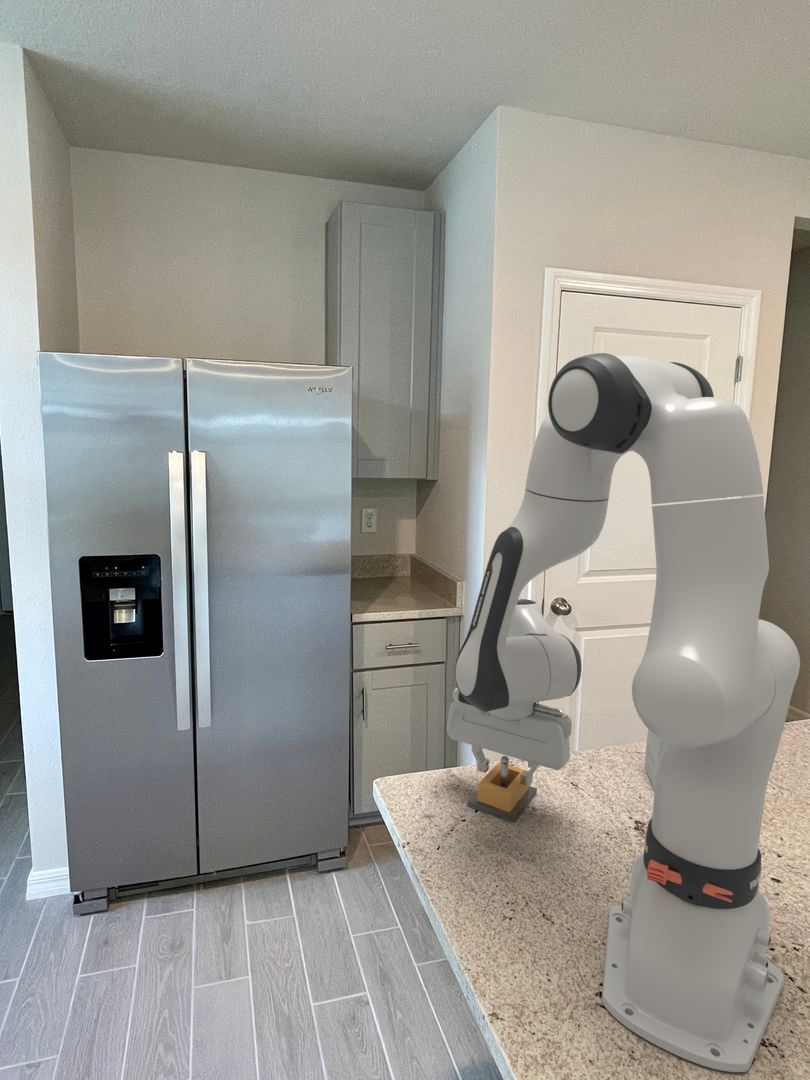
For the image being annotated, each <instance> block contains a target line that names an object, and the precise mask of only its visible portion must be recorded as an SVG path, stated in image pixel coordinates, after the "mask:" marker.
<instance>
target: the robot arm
mask: <svg viewBox="0 0 810 1080" xmlns="http://www.w3.org/2000/svg"><path fill="white" fill-rule="evenodd" d="M547 399H548V400H547V407H548V408H547V409H548V416H547V417H545V419H543V421H542V423H541V424H540V427H539V429H538V433H537V436H536V439H535V441H534V445H533V449H532V453H531V456H530V460H529V465H528V466H529V467H528V470H527V477H526V481H525V490H524V495H523V499H522V502H521V505H520V507H519V509H518V511H517V514H516V516H515V517H514V519H513V520H512V522H511V523H510V525H509V526H508V528H506V529H504V530H503V531H502V532H500V534H499V535H498V536H497V538H496V539H495V542H494V543H493V547H492V549H491V551H490V555H489V558H488V561H487V565H486V567H485V572H484V575H483V578H482V582H481V585H480V589H479V593H478V597H477V600H476V604H475V607H474V610H473V615H472V618H471V621H470V625H469V629H468V632H467V634H466V637H465V639H464V641H463V643H462V645H461V647H460V649H459V651H458V654H457V657H456V661H455V667H454V679H455V680H454V681H455V683H456V684H455V685H456V688H455V689H454V690H453V691H452V699H453V700H454V702H452V703H451V704H450V706H449V708H448V714H447V723H446V732H447V734H448V736H449V738H450V739H452V740H453V741H454V740H455V741H458V742H461V743H464V744H467V745H471V752H472V755H473V756H474V759H475V760H476V771H478V772H482V773H485V774H487V772H488V771H489V769H490V761H491V760H490V758H486V755H485V754H484V751H483V749H484V750H488V751H491V752H495V753H497V754H501V755H503V756H507V757H512V758H514V759H518V760H522V761H525V762H527V767H528V769H529V768H530V769H529V770H527V771H525V770H526V769H524V771H523V773H522V774H521V776H520V779H521V781H520V784H522V785H525V786H528V787H529V786H531V785H532V784H533V780H534V779H533V778H534V777H533V776H534V773H535V772H536V771H537V769H538V768H539V767H540V766H541V767H544V768H548V769H550V770H551V769H552V770H555V771H560V770H561V769H563V768H564V767H565V766H566V765H567V763H568V762H569V759H570V757H571V756H570V755H571V754H570V753H571V752H570V751H571V750H570V749H571V747H570V737H571V735H572V727H573V723H572V720H571V718H570V716H569V715H568V714H566V713H565V712H564V710H562V709H561V708H557V707H550V706H548V705H544V704H540V702H545V701H553V700H558V699H564V698H566V697H570V696H571V695H572V694H573V693H574V692H576V690H577V688H578V686H579V684H580V681H581V678H582V677H581V676H582V657H581V653H580V652H579V649H578V648H577V647H576V645H575V644H574V643H573V642H572V640H570V638H568V637H567V636H565V635H563V634H561V633H559V632H557V631H556V630H555V629H554V628H553V627H552V626H551V625H550V624H549V623H548V622H547V621H546V620H545V618H544V617H543V614H542V613H543V612H542V610H541V607H540V605H539V604H538V603H537V602H536V601H534V600H531V599H523V598H520V595H521V593H522V591H523V590H524V589H525V587H526V586H527V585H528V584H529V582H531V581H532V580H533V579H534V578H536V577H537V576H539V575H540V574H542V573H543V572H545V571H547V570H549V569H550V568H553V567H556V566H557V565H559V564H562V563H565V562H566V561H569V560H572V559H574V558H576V557H578V556H581V554H583V553H584V552H585V551H587V550H588V549H590V548H591V546H592V545H594V544H595V543H596V542H597V540H598V539H599V537H600V535H601V533H602V530H603V527H604V524H605V521H606V517H607V513H608V512H607V511H608V505H609V498H610V493H611V485H612V478H613V473H614V469H615V467H616V464H617V462H618V461H619V460H620V459H621V458H622V457H623V456H624V455H626V454H627V453H629V452H634V453H635V454H637V455H639V456H640V457H641V458H642V459H643V461H644V463H645V464H646V468H647V470H648V474H649V480H650V481H649V483H650V496H651V505H652V506H651V510H652V511H651V512H652V522H653V525H652V526H653V535H654V536H653V537H654V549H655V550H654V551H655V565H656V566H655V567H656V571H655V572H656V574H655V591H654V596H653V597H654V598H653V604H652V613H651V618H650V620H651V621H650V626H649V631H648V637H647V642H646V647H645V651H644V654H643V656H642V659H641V661H640V662H639V663H640V664H639V665H638V667H637V669H636V671H635V673H634V676H633V680H632V683H631V684H632V685H631V694H632V695H631V697H632V702H633V705H634V709H635V711H636V712H637V715H638V717H639V718H640V720H641V722H642V723H643V724H644V726H645V727H646V728H647V730H648V729H649V730H650V731H651V732H652V733H653V734H654V735H656V736H657V737H658V738H660V739H661V740H663V741H665V742H667V745H666V747H665V748H664V750H663V752H662V754H661V756H660V758H659V761H658V765H657V773H656V783H655V790H654V795H653V805H652V814H651V815H652V816H651V818H650V820H649V821H648V823H647V828H646V832H645V835H644V842H643V844H644V845H643V846H644V847H643V848H644V850H643V853H642V854H640V855H638V856H635V857H633V858H632V866H631V867H632V869H631V879H630V890H629V898H628V899H629V901H627V900H623V902H622V903H621V904H616V905H613V906H611V907H610V909H609V913H608V919H607V930H606V941H605V954H604V955H605V956H604V967H603V978H602V979H603V980H602V989H601V991H602V992H601V994H602V995H601V1003H602V1005H603V1006H604V1007H605V1009H606V1010H607V1011H608V1012H609V1013H610V1014H611V1015H612V1016H613V1017H614V1018H615V1019H616V1020H618V1022H619V1023H621V1024H622V1025H623V1026H624V1027H626V1028H627V1029H629V1030H630V1031H631V1032H633V1033H635V1035H638V1036H639V1037H642V1038H643V1039H644V1040H646V1041H648V1042H650V1043H652V1044H653V1045H655V1046H656V1047H659V1048H661V1049H663V1050H665V1051H666V1052H669V1053H671V1054H673V1055H675V1056H678V1057H680V1058H682V1059H684V1060H687V1061H689V1062H692V1063H694V1064H697V1065H700V1066H703V1067H706V1068H710V1069H713V1070H718V1071H723V1072H728V1073H729V1072H730V1073H745V1072H747V1071H749V1069H750V1068H751V1066H752V1063H753V1062H754V1059H755V1056H756V1054H757V1051H758V1049H759V1046H760V1044H761V1042H762V1040H763V1037H764V1035H765V1032H766V1030H767V1027H768V1025H769V1022H770V1020H771V1018H772V1015H773V1013H774V1011H775V1008H776V1005H777V1003H778V1000H779V998H780V996H781V993H782V991H783V988H784V985H785V984H784V983H785V981H784V979H785V978H784V974H783V972H782V971H781V969H780V968H778V966H777V965H775V964H774V963H773V962H772V961H770V960H769V959H768V958H767V956H766V955H767V949H768V948H769V947H770V945H771V939H772V935H771V934H770V933H769V929H770V918H771V909H772V908H771V907H772V906H771V905H770V904H769V903H768V901H767V899H766V898H765V897H764V896H763V895H762V893H761V892H760V890H759V885H760V879H761V876H762V868H763V867H762V853H761V852H762V851H761V850H760V848H759V846H760V845H759V844H760V837H761V836H760V835H761V830H762V823H763V822H762V821H763V814H764V808H765V807H764V806H765V799H766V794H767V793H766V792H767V788H768V784H769V780H770V776H771V772H772V768H773V766H774V762H775V759H776V756H777V754H778V753H777V752H778V749H779V746H780V743H781V739H782V737H783V736H782V735H783V731H784V728H785V723H786V720H787V716H788V712H789V708H790V704H791V703H790V702H791V698H792V694H793V691H794V688H795V686H796V685H795V684H796V682H797V679H798V677H799V673H800V668H801V658H800V653H799V650H798V648H797V645H796V644H795V642H794V640H793V639H792V638H791V636H790V635H789V634H788V633H787V632H786V631H784V629H782V628H781V627H779V626H778V625H776V624H775V623H772V622H769V621H767V620H764V619H760V610H761V604H762V597H763V593H764V592H763V591H764V587H765V584H766V581H767V579H768V576H769V571H770V561H769V549H768V547H769V546H768V536H767V524H766V523H767V522H766V512H765V500H764V498H765V497H764V495H763V494H764V489H763V479H762V472H761V467H760V461H759V457H758V452H757V447H756V444H755V440H754V437H753V432H752V429H751V426H750V423H749V420H748V416H747V415H746V413H745V411H744V410H743V409H742V407H740V406H739V405H738V404H737V403H735V402H733V401H731V400H727V399H725V398H720V397H715V395H714V392H713V388H712V386H711V384H710V382H709V381H708V379H707V378H706V377H705V376H704V375H703V374H702V373H701V372H700V371H698V370H696V369H695V368H694V367H691V366H689V365H686V364H683V363H681V362H677V361H665V360H662V359H656V358H652V357H651V356H650V357H649V356H646V355H641V354H640V355H639V354H611V353H605V352H597V353H592V354H586V355H583V356H582V355H581V356H579V357H577V358H574V359H572V360H570V361H568V362H567V363H566V364H564V365H563V366H562V367H561V369H559V371H558V372H557V374H556V375H555V377H554V379H553V381H552V382H551V386H550V388H549V392H548V398H547ZM755 495H756V496H755ZM758 495H759V496H758ZM760 495H761V496H760ZM734 497H738V498H734ZM724 498H725V499H724ZM714 499H715V500H714ZM705 500H707V501H705ZM671 503H672V504H671ZM674 503H675V504H674ZM661 504H662V505H661ZM519 598H520V599H519Z"/></svg>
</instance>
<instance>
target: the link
mask: <svg viewBox="0 0 810 1080" xmlns="http://www.w3.org/2000/svg"><path fill="white" fill-rule="evenodd" d="M524 770H525V771H528V770H526V769H524V768H520V767H517V766H514V765H510V764H509V765H508V782H507V785H508V787H507V788H503V787H500V774H501V761H499V762H497V763H496V764H495V765H494V767H492V769H491V770H490V771H489V772H488V773H486V775H485V776H484V777H483V778H482V779H481V780H480V781H479V782H478V784H477V791H478V795H477V801H479V802H482V803H484V804H487V805H490V806H493V807H496V808H498V809H501V810H504V811H507V812H510V811H511V810H512V809H513V808H514V806H515V805H516V804H517V803H518V801H519V800H520V799H521V798H522V796H523V795H524V794H525V792H526V791H527V790H528V789H529V787H528V786H525V785H522V784H520V781H521V779H520V776H521V774H522V773H523V771H524Z"/></svg>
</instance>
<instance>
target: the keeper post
mask: <svg viewBox="0 0 810 1080" xmlns="http://www.w3.org/2000/svg"><path fill="white" fill-rule="evenodd" d="M500 762H501V774H500V787H503V788H507V787H508V785H507V782H508V765H510V758H509V756H507V755H503V756H501V757H500ZM537 793H538V788H537V787H534V786H531V785H530V786H529V789H528V790H527V791H526V792H525V794H524V795H523V796H522V798H521V799H520V800H519V801H518V803H517V804H516V805H515V806H514V808H513V809H512V810H511V811H510V812H507V811H504V810H501V809H498V808H496V807H493V806H490V805H487V804H484V803H482V802H479V801H477V795H478V790H476V792H474V793H473V795H472V796H470V798H469V799H467V808H472V809H474V810H477V811H479V812H482V813H485V814H488V815H491V816H494V817H497V818H499V819H502V820H505V821H508V822H510V823H515V822H516V821H517V819H518V818H519V817H520V816H521V815H522V813H524V811H525V809H526V808H527V807H528V806H529V804H531V802H532V801H533V799H534V798H535V796H537Z"/></svg>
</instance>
